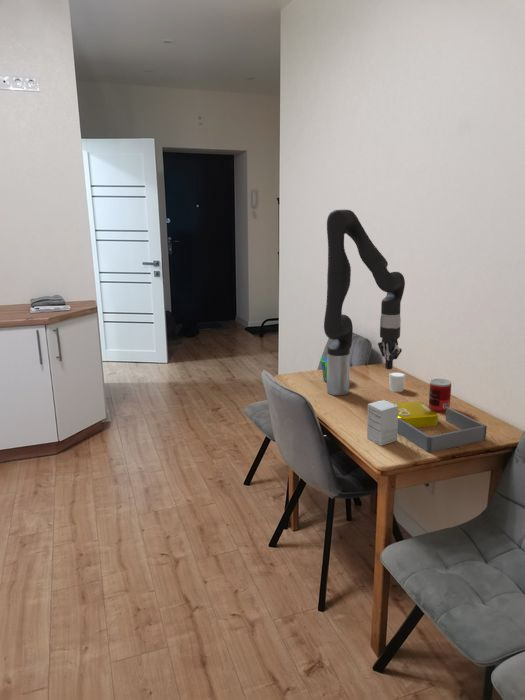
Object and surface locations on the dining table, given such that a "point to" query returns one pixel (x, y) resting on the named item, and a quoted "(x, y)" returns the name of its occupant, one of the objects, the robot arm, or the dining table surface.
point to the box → (467, 435)
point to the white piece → (396, 381)
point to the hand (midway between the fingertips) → (388, 368)
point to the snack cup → (324, 367)
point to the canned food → (439, 395)
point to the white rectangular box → (382, 422)
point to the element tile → (417, 414)
